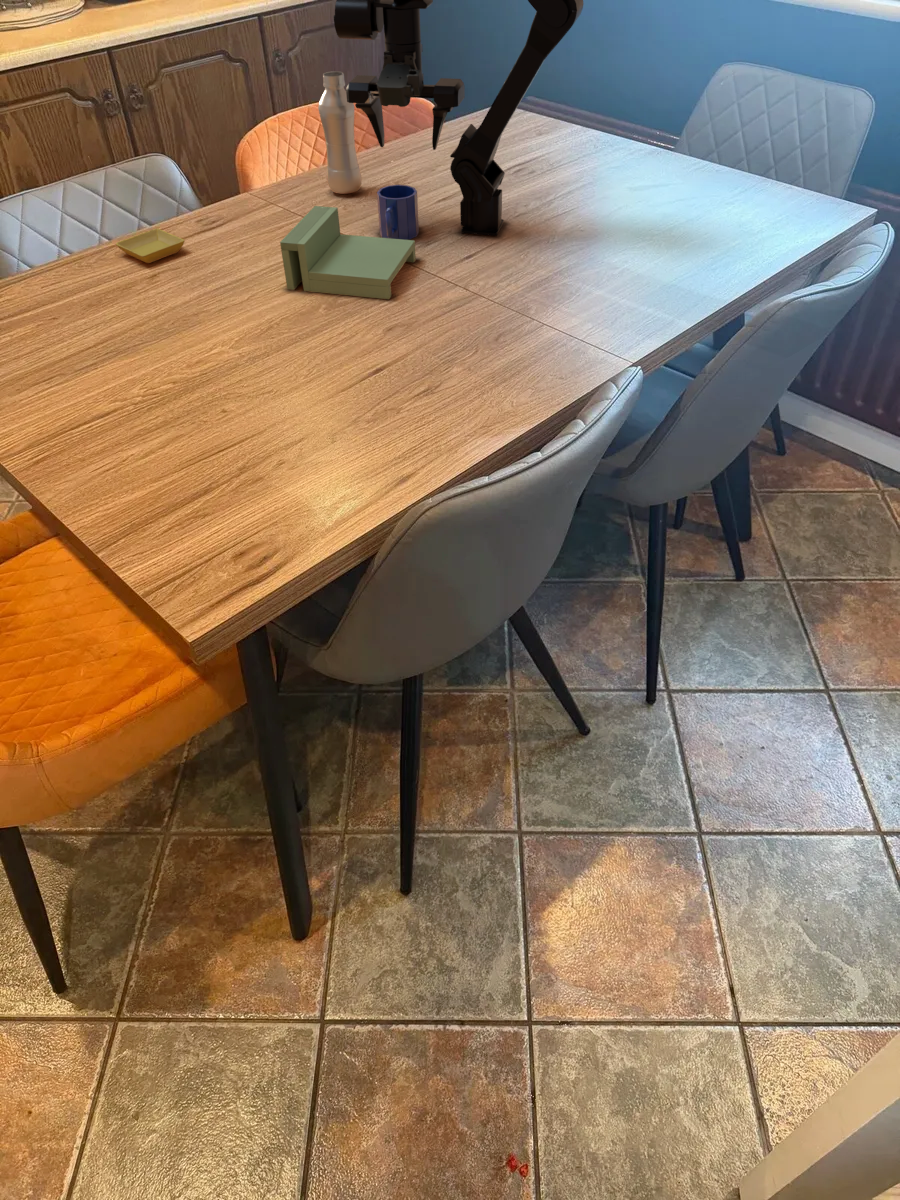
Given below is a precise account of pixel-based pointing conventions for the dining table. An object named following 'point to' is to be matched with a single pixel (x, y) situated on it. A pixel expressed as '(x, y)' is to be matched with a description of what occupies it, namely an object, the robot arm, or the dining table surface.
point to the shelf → (341, 258)
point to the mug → (398, 212)
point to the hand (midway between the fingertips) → (408, 147)
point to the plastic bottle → (339, 135)
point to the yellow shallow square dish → (151, 245)
